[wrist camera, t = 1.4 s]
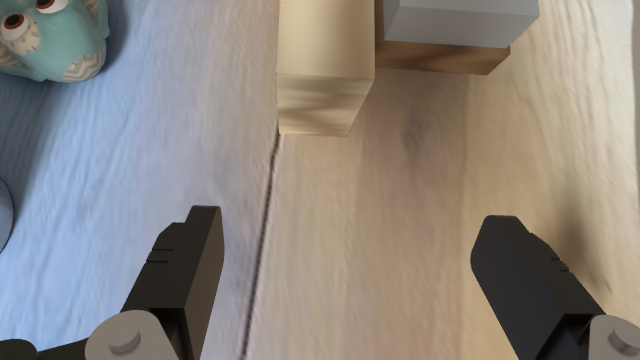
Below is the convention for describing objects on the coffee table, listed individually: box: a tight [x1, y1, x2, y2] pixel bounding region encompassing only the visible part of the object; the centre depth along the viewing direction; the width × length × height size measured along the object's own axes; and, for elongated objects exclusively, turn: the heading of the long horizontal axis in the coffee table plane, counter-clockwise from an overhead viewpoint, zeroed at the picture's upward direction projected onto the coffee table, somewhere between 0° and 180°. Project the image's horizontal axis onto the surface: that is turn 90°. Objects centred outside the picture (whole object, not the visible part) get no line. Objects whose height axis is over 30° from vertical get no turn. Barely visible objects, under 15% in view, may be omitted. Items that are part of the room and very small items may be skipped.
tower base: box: [374, 0, 510, 75], centre depth 32 cm, size 11×11×4 cm
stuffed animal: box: [0, 0, 110, 83], centre depth 27 cm, size 11×7×12 cm
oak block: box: [276, 0, 375, 137], centre depth 26 cm, size 6×6×10 cm
